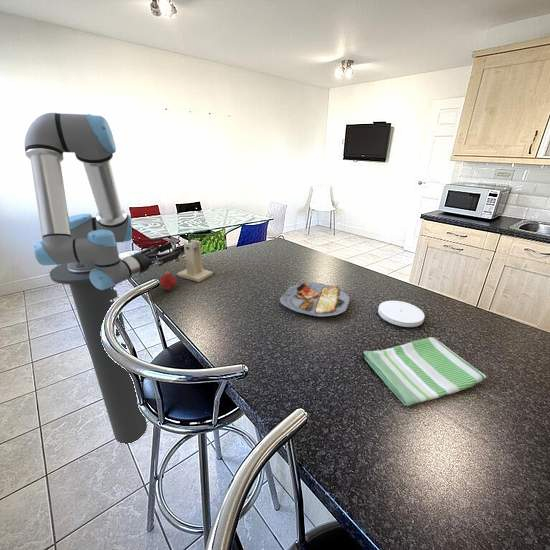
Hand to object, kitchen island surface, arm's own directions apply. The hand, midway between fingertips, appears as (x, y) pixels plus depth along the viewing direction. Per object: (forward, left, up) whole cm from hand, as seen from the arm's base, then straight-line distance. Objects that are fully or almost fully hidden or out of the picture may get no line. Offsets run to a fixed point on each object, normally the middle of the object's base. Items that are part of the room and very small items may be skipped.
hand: (177, 246), depth 128 cm
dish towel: (+101, -18, -10) cm, 103 cm away
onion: (+14, -19, -10) cm, 25 cm away
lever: (+8, -3, -2) cm, 9 cm away
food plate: (+65, +1, -10) cm, 66 cm away
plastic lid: (+93, +6, -10) cm, 94 cm away
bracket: (+12, -3, -10) cm, 16 cm away
